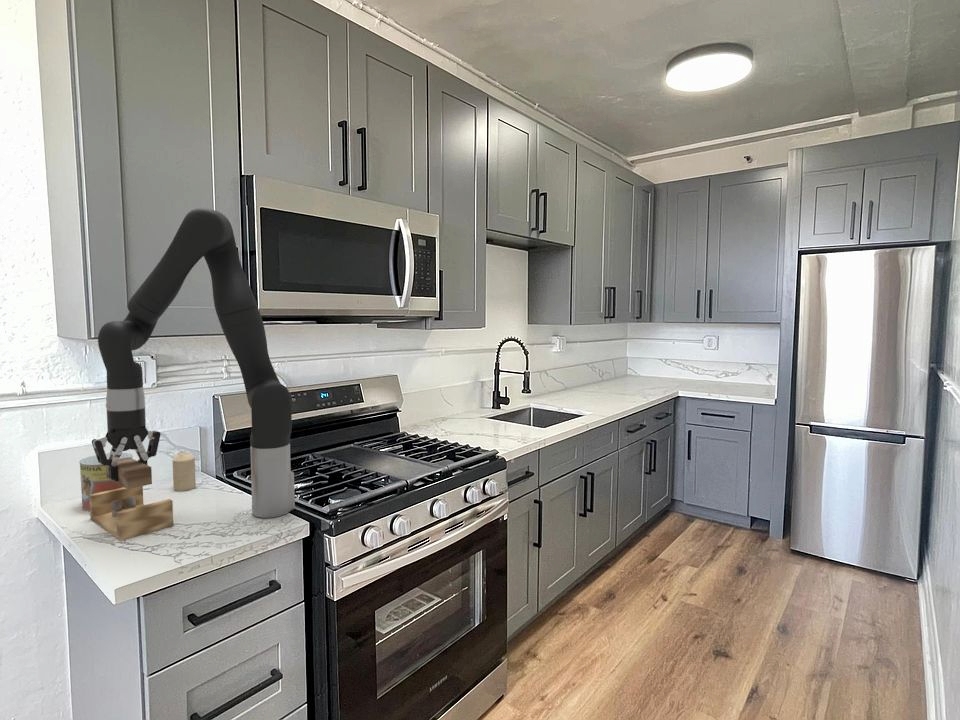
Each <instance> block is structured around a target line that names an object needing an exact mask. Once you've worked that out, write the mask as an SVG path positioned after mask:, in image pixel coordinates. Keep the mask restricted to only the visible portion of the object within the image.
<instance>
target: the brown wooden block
mask: <svg viewBox="0 0 960 720" xmlns="http://www.w3.org/2000/svg"><path fill="white" fill-rule="evenodd" d="M117 466H118V481H117V482H115V483H117V484H119V485H121V486H123V487H124V488H126V489H131V488H136V487H140V486H145V487H146V486H149V485H152V484H153V476H152V475H153V474H152V473H153V472H152V471H153V470H152V466H149V465H146V464H143V463H141V462H139V461H138V459H137V460H136V459H134V458H133V457H132V458H130V457H128V458H122V459H119V460H118V463H117ZM106 476H107V478H108V479H110V478H109V471H108V465H106ZM110 480H111V479H110ZM113 482H114V481H113Z"/></svg>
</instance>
